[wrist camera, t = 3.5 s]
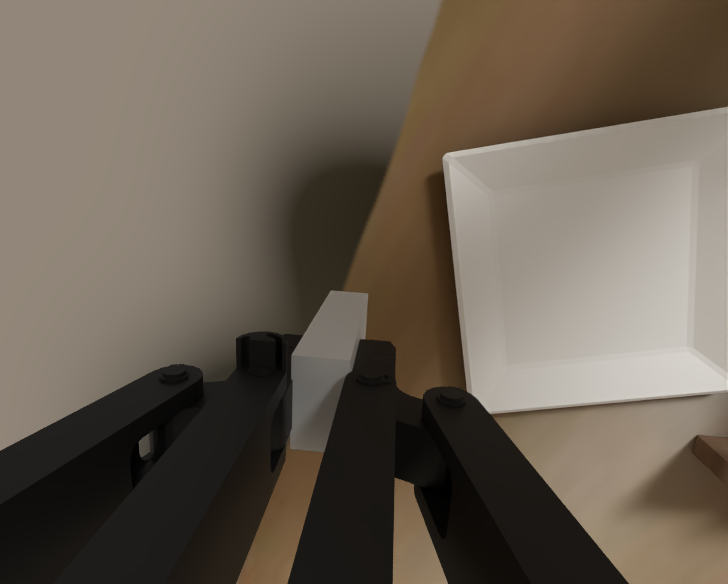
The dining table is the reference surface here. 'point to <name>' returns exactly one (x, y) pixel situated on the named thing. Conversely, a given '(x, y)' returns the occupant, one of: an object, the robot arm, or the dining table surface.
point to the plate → (593, 264)
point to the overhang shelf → (713, 455)
